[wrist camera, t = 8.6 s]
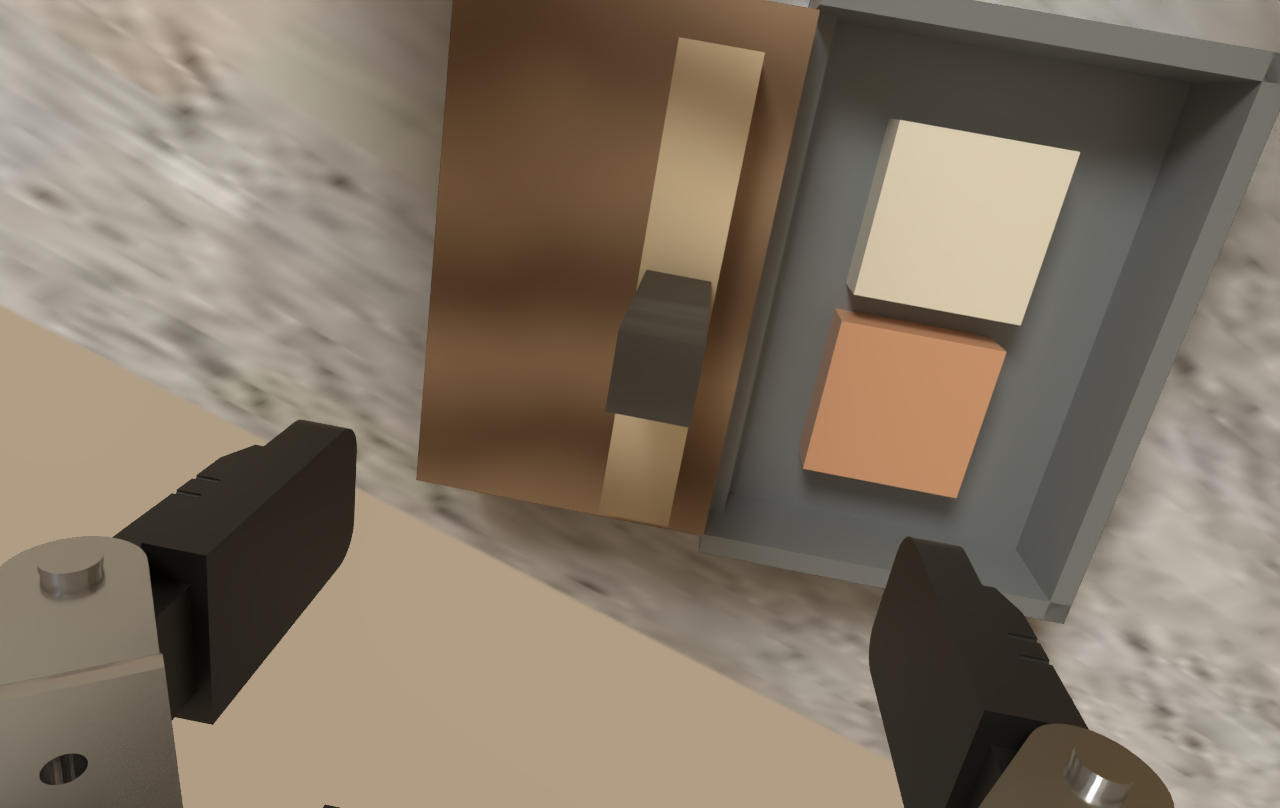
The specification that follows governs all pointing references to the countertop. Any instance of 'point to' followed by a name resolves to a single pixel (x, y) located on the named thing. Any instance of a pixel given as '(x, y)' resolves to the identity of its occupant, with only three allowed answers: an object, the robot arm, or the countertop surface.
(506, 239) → the stepped wooden block
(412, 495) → the countertop surface
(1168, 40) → the box
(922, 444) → the tile
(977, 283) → the tile
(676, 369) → the t-shaped block
